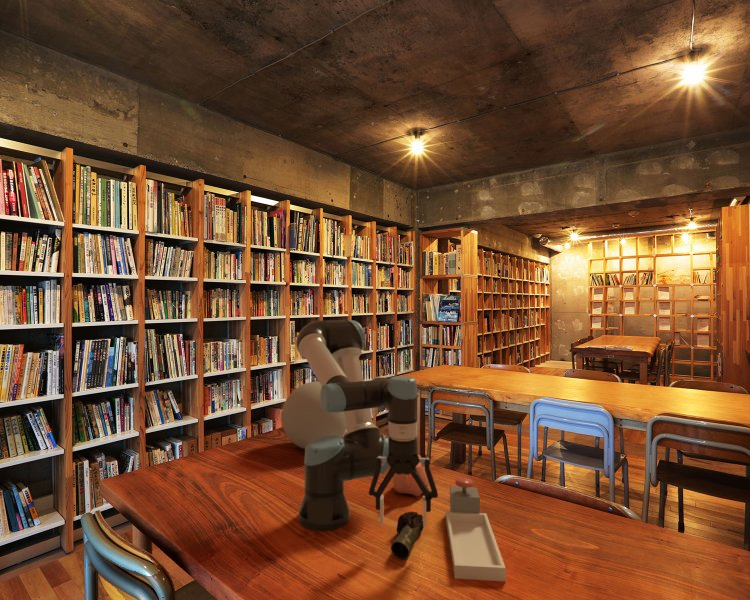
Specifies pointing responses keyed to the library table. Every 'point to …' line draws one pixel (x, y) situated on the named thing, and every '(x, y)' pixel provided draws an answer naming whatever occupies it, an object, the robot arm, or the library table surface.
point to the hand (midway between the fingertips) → (403, 522)
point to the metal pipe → (406, 534)
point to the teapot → (410, 481)
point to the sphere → (310, 416)
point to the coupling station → (472, 536)
